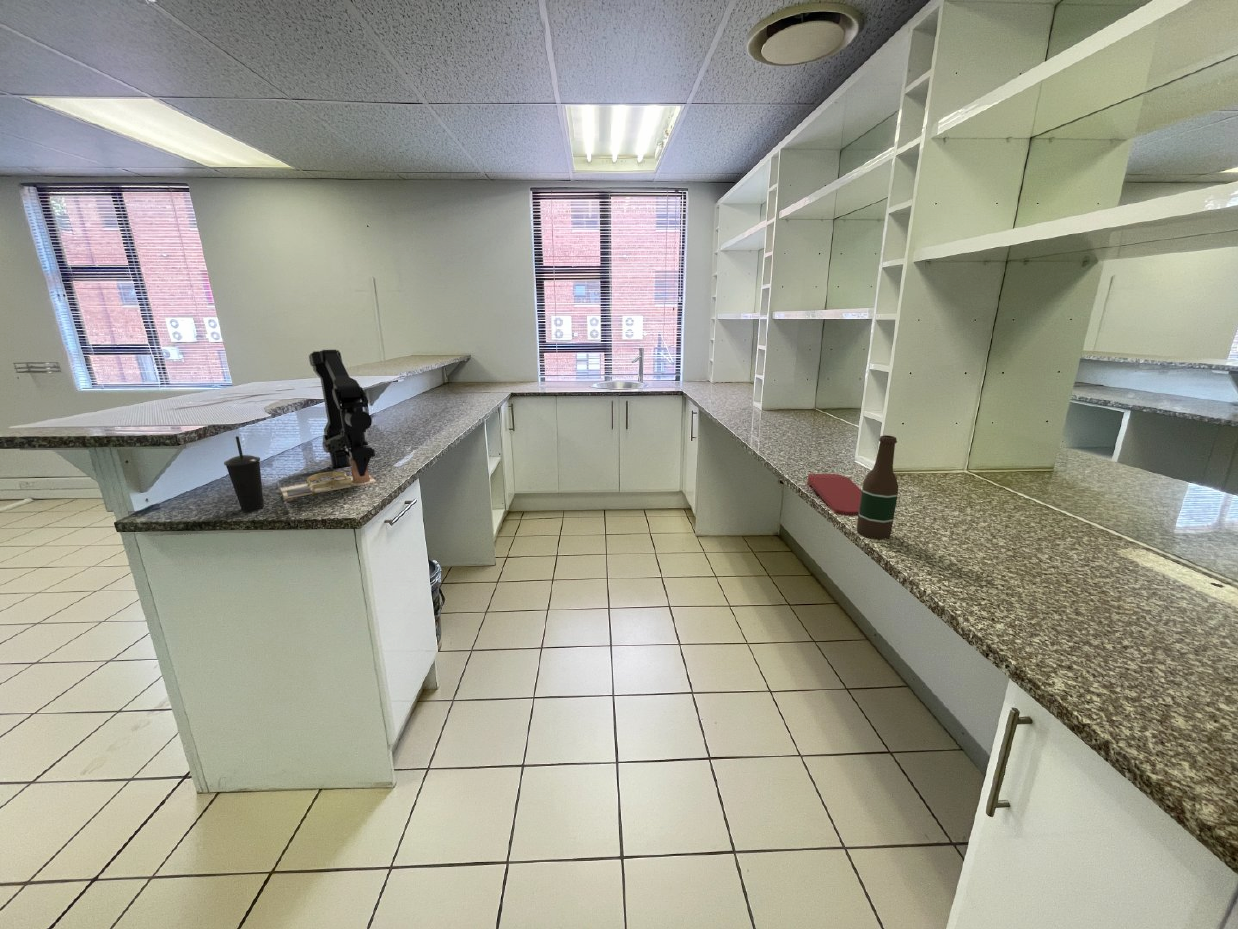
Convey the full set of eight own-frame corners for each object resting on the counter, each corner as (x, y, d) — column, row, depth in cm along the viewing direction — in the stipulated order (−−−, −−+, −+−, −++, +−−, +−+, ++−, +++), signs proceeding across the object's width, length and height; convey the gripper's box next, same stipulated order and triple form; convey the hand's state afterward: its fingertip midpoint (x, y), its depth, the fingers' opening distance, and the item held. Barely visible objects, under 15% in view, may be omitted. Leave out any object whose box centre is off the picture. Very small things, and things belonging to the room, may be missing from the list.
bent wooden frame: (306, 483, 148) (304, 475, 147) (345, 477, 154) (343, 469, 154) (312, 493, 139) (311, 485, 138) (353, 486, 145) (352, 478, 145)
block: (352, 480, 151) (349, 458, 149) (366, 478, 153) (363, 456, 151) (355, 483, 148) (352, 461, 146) (369, 481, 150) (366, 459, 149)
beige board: (280, 491, 144) (279, 487, 144) (368, 476, 159) (367, 472, 158) (285, 502, 135) (284, 497, 135) (377, 485, 150) (377, 481, 149)
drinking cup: (241, 505, 132) (225, 434, 127) (273, 502, 135) (259, 432, 129) (230, 515, 125) (212, 440, 120) (265, 511, 128) (249, 438, 122)
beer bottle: (897, 540, 112) (915, 440, 105) (863, 540, 112) (879, 440, 106) (881, 527, 119) (897, 433, 113) (849, 526, 120) (863, 432, 113)
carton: (879, 527, 129) (838, 485, 152) (883, 511, 127) (841, 470, 150) (834, 527, 129) (800, 485, 152) (838, 511, 127) (803, 471, 150)
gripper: (317, 424, 148) (325, 472, 152) (328, 434, 134) (337, 487, 138) (357, 419, 155) (363, 466, 159) (372, 429, 141) (379, 479, 145)
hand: (360, 474), depth 150 cm, fingers closed on block, 4 cm apart
